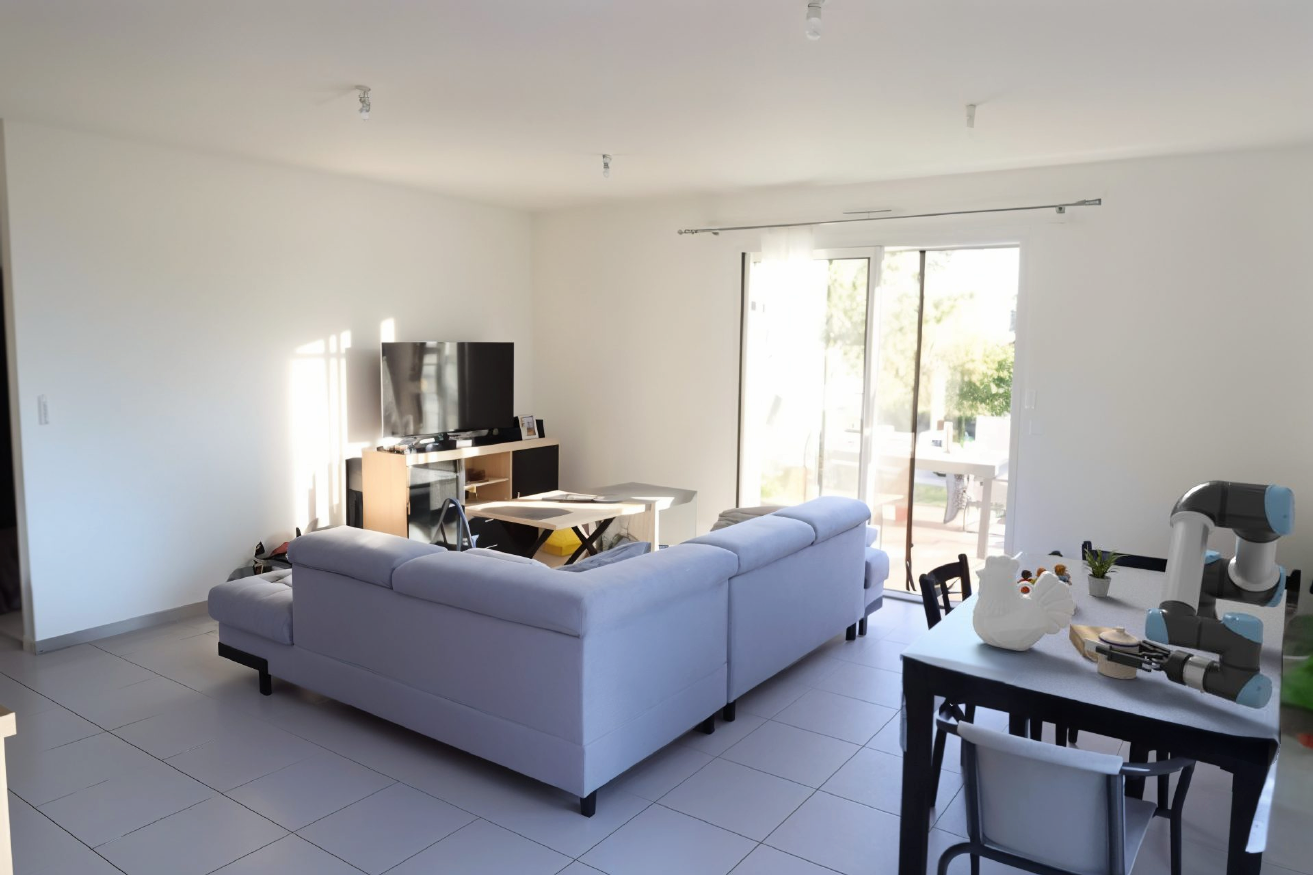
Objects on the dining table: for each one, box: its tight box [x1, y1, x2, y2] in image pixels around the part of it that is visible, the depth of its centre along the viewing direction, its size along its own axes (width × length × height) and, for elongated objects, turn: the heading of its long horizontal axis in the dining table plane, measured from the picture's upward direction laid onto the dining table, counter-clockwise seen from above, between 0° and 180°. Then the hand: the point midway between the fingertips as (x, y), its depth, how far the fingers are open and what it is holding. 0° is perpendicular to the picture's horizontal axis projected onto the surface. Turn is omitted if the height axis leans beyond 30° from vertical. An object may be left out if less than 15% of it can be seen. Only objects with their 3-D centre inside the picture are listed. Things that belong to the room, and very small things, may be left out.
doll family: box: [1016, 563, 1073, 594], centre depth 268 cm, size 21×10×13 cm, turn 108°
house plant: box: [1081, 547, 1130, 598], centre depth 282 cm, size 14×14×16 cm
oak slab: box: [1068, 623, 1116, 658], centre depth 228 cm, size 13×15×4 cm
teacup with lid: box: [1085, 626, 1141, 680], centre depth 212 cm, size 12×9×12 cm
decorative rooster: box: [972, 553, 1077, 652], centre depth 226 cm, size 25×16×25 cm, turn 66°
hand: (1096, 640), depth 216 cm, fingers closed on teacup with lid, 9 cm apart
